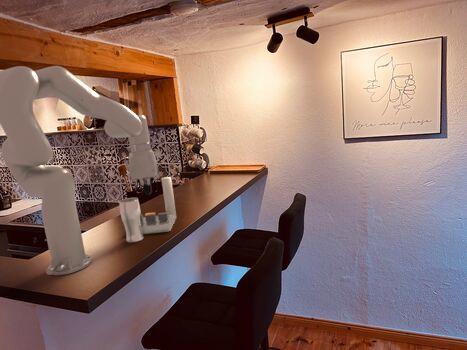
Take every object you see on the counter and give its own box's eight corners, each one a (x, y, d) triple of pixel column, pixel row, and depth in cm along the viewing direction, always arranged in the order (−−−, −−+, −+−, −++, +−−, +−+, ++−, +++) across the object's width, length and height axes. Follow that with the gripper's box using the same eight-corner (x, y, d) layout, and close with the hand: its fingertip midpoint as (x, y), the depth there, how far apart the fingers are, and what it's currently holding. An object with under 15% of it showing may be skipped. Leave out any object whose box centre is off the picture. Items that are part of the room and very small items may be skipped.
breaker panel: (169, 231, 129) (168, 223, 129) (128, 235, 129) (127, 227, 129) (175, 221, 141) (174, 214, 140) (136, 225, 141) (135, 217, 141)
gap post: (175, 220, 143) (170, 178, 140) (166, 220, 143) (160, 179, 140) (177, 217, 147) (171, 176, 144) (168, 218, 147) (162, 177, 144)
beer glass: (138, 234, 129) (132, 196, 127) (148, 238, 124) (142, 198, 122) (121, 240, 125) (115, 201, 122) (130, 244, 120) (124, 203, 117)
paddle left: (142, 222, 133) (141, 216, 133) (133, 223, 133) (132, 217, 133) (143, 220, 135) (142, 214, 135) (134, 221, 135) (133, 215, 135)
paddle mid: (155, 221, 133) (154, 213, 133) (146, 221, 133) (144, 214, 133) (156, 219, 135) (155, 212, 135) (147, 220, 135) (146, 213, 135)
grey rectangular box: (167, 219, 133) (166, 213, 133) (158, 220, 133) (157, 214, 133) (168, 218, 135) (167, 212, 135) (159, 219, 135) (158, 213, 135)
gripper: (118, 151, 126) (126, 199, 129) (158, 147, 126) (165, 195, 129) (124, 149, 133) (132, 194, 137) (162, 145, 133) (168, 190, 137)
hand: (148, 194), depth 133 cm, fingers closed
